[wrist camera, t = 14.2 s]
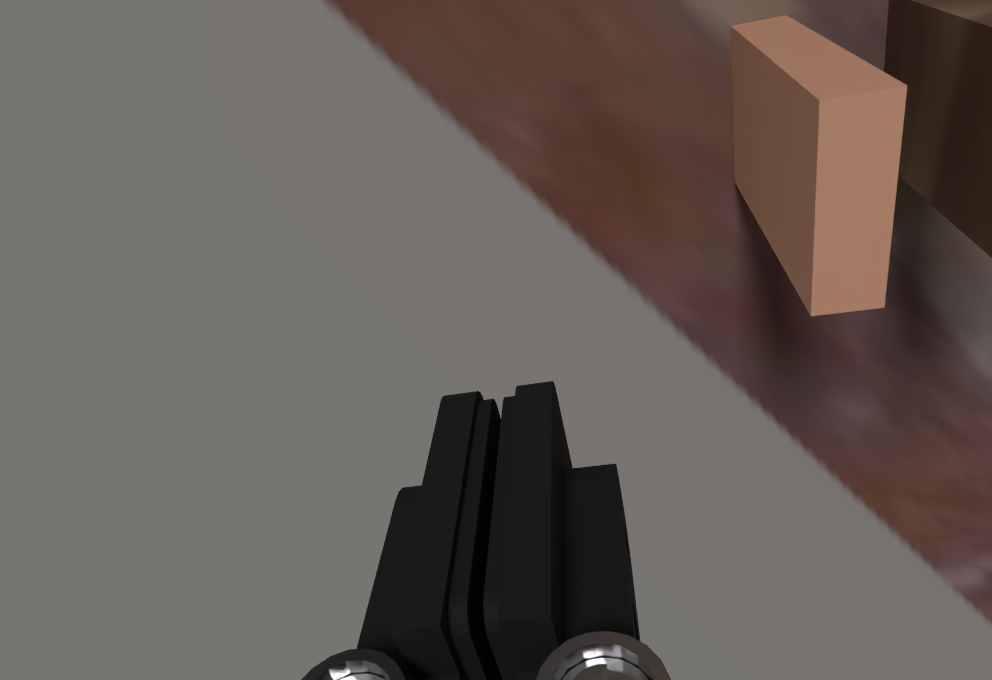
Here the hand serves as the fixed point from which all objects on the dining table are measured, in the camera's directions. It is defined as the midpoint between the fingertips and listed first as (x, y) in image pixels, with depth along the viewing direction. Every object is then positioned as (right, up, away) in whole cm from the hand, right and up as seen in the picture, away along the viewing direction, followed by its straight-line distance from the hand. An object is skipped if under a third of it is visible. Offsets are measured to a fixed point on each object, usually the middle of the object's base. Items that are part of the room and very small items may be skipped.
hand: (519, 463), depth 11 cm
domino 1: (+8, +9, +12) cm, 17 cm away
